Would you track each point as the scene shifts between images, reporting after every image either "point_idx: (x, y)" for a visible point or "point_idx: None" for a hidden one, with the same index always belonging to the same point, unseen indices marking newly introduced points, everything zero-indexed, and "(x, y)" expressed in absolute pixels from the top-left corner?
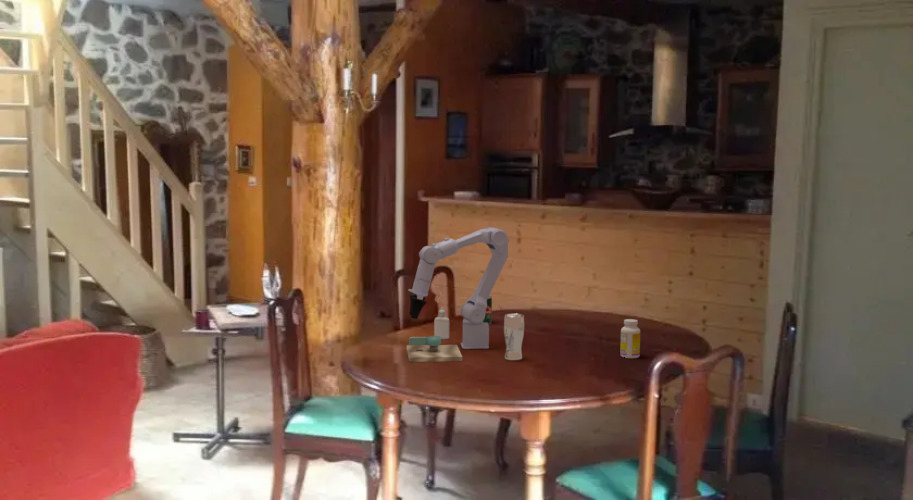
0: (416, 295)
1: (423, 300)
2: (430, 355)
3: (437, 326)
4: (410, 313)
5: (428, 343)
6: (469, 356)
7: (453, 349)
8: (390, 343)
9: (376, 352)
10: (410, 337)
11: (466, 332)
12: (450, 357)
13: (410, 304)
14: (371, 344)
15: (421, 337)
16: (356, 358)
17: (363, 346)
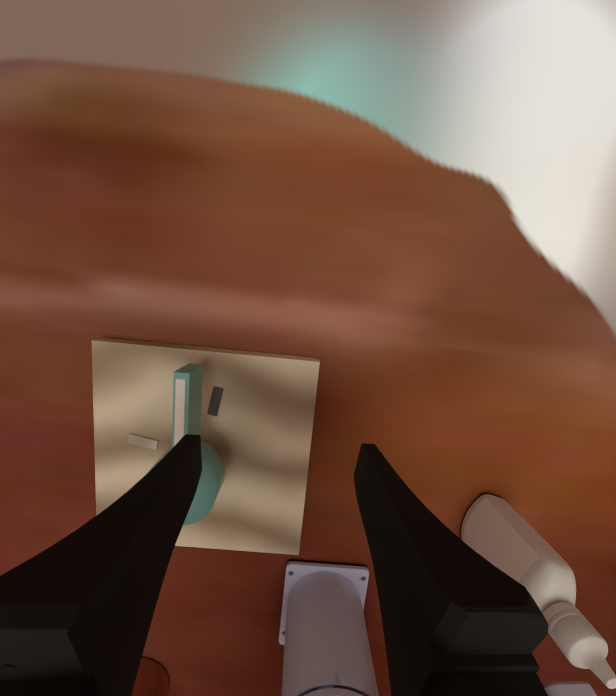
0: (440, 692)
1: (390, 677)
2: (124, 431)
3: (508, 545)
4: (363, 454)
5: (168, 451)
6: (178, 560)
7: (220, 530)
8: (445, 305)
9: (286, 221)
10: (176, 379)
11: (299, 642)
12: (97, 498)
13: (409, 507)
14: (446, 215)
15: (175, 434)
16: (183, 111)
17: (414, 171)
